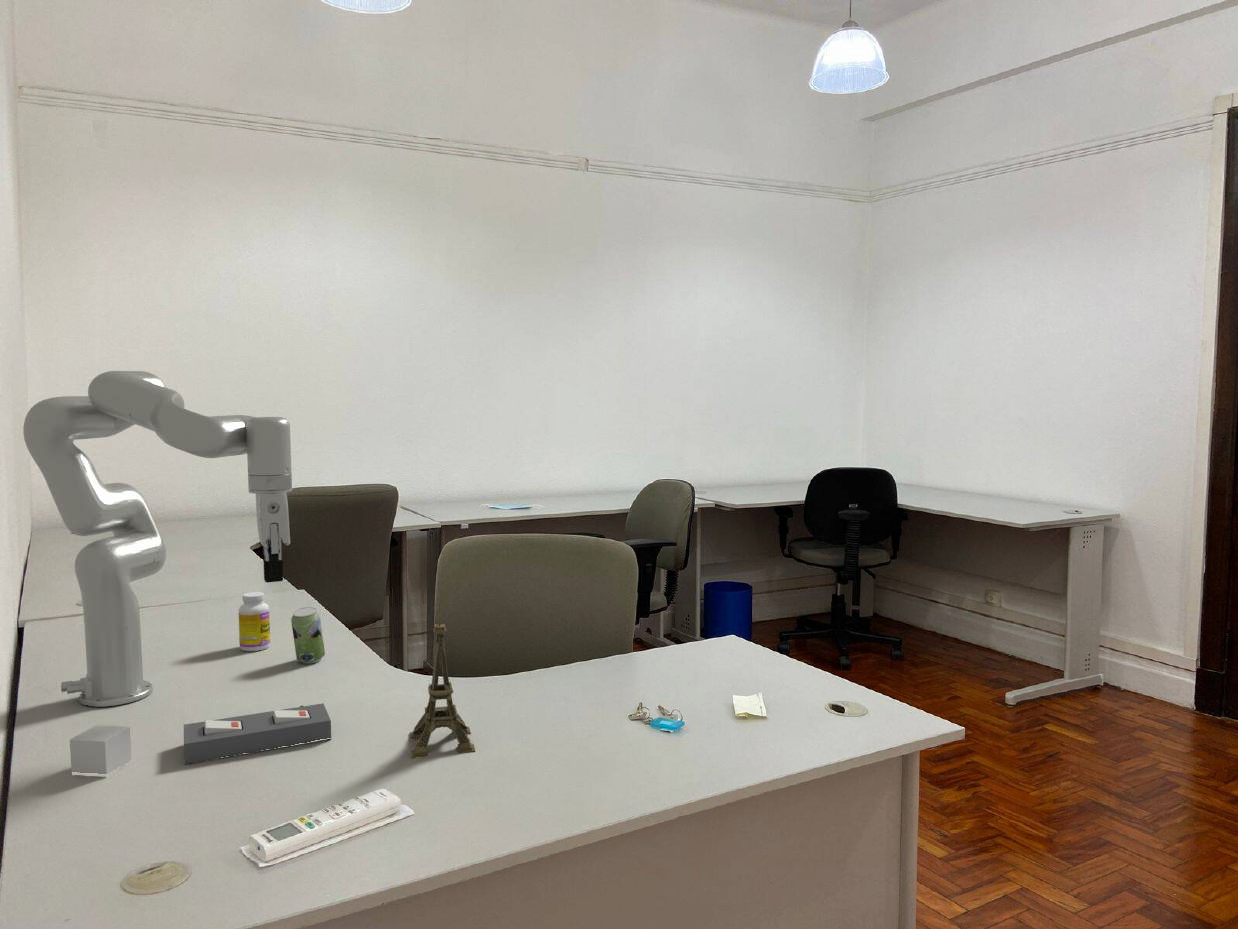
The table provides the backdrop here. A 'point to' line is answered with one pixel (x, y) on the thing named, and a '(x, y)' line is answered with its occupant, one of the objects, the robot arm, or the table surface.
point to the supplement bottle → (254, 623)
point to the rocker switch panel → (255, 734)
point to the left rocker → (221, 726)
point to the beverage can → (307, 635)
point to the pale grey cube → (100, 749)
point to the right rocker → (289, 715)
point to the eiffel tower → (440, 715)
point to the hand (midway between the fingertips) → (273, 580)
